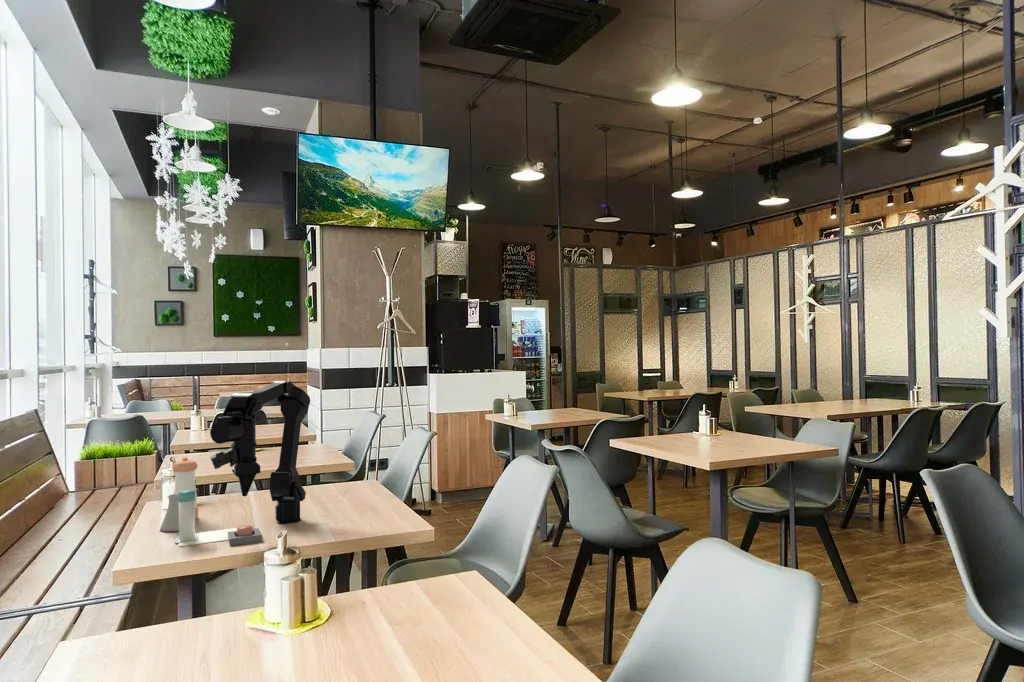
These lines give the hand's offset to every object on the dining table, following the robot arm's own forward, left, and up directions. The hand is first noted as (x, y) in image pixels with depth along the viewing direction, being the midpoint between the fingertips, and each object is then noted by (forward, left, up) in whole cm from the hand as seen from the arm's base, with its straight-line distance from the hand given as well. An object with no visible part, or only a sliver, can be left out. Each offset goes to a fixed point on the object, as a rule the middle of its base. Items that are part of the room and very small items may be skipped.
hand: (244, 496), depth 178 cm
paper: (+8, -8, -12) cm, 16 cm away
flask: (+17, -23, -12) cm, 31 cm away
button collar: (0, 0, -12) cm, 12 cm away
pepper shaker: (+14, -34, -12) cm, 39 cm away
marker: (+14, -8, -12) cm, 20 cm away
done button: (0, 0, -11) cm, 11 cm away
